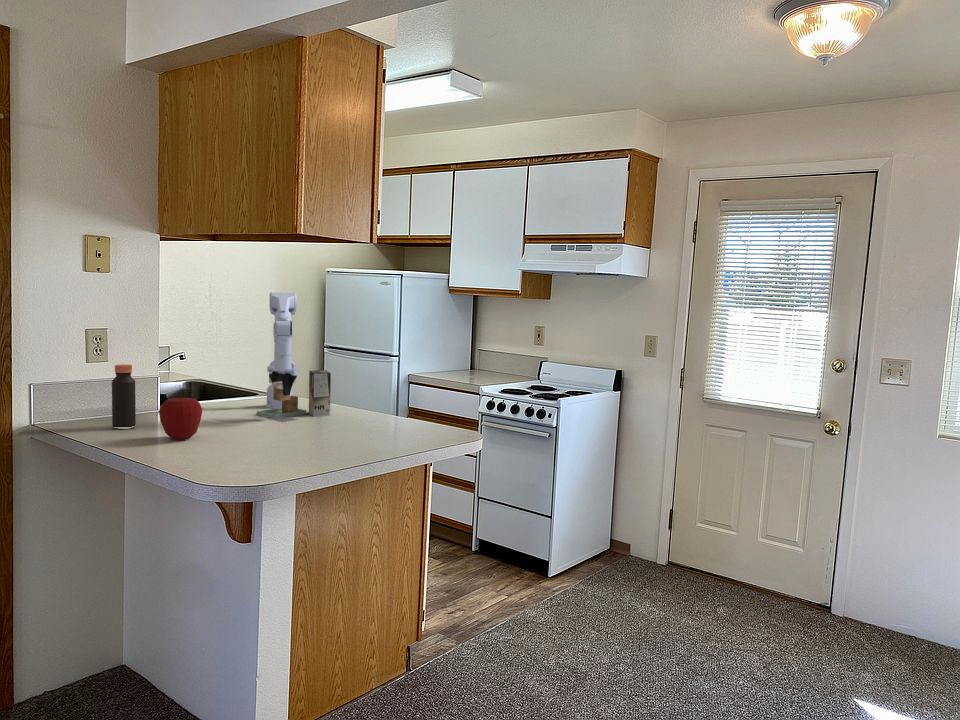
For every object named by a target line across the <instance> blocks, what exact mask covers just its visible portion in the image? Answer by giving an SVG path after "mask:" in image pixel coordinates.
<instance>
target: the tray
mask: <svg viewBox="0 0 960 720" xmlns="http://www.w3.org/2000/svg"><path fill="white" fill-rule="evenodd" d="M306 414H307V410H306V409H302V408H298V411H296V412H289V413H282V408H276V409H275V408H270V409H264V410H263V409H262V410H256V415H257V416H261V417H267V418H269V419H275V418H282V417H288V418H289V417H292V416H293V417H294V416H300V415H306Z"/></svg>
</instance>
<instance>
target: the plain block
mask: <svg viewBox="0 0 960 720" xmlns="http://www.w3.org/2000/svg"><path fill="white" fill-rule="evenodd" d="M298 409H299V396H296V395H292V396H290V400H283V401H282V413H289V412H296V411H298Z"/></svg>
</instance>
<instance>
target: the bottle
mask: <svg viewBox="0 0 960 720" xmlns="http://www.w3.org/2000/svg"><path fill="white" fill-rule="evenodd" d="M132 372H133V366H132V364H126V363H125V364H115V365H114V374H115V377H114V378H113V379H112V380H111V427H112V426H113V427H132V426H135V425H136V426H137V424H136V423H137V417H136V414H137V412H136V379H134V378H133V377H132Z"/></svg>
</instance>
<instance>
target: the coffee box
mask: <svg viewBox="0 0 960 720" xmlns="http://www.w3.org/2000/svg"><path fill="white" fill-rule="evenodd" d="M331 375H332V373H331V372H330V371H328V370H325V369H324V370H323V369H321V370H308V414H309V415H311V416H312V417H330V416H331V392H332V391H331V386H332V385H331V381H332V379H331V378H332V377H331Z"/></svg>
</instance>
